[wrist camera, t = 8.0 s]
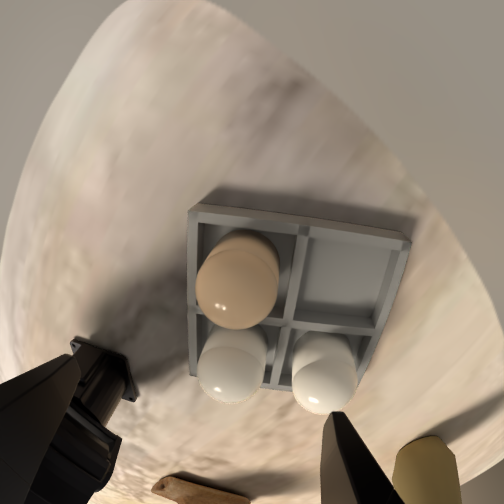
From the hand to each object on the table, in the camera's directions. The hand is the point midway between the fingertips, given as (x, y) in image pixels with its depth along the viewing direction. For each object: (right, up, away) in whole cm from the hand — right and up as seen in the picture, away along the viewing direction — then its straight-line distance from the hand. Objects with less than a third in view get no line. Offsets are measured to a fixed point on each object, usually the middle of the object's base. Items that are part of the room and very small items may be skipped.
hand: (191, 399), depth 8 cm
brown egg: (+2, +4, +10) cm, 11 cm away
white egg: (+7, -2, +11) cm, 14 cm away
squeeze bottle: (+22, -19, +17) cm, 34 cm away
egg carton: (+4, +1, +11) cm, 12 cm away
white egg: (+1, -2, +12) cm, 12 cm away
